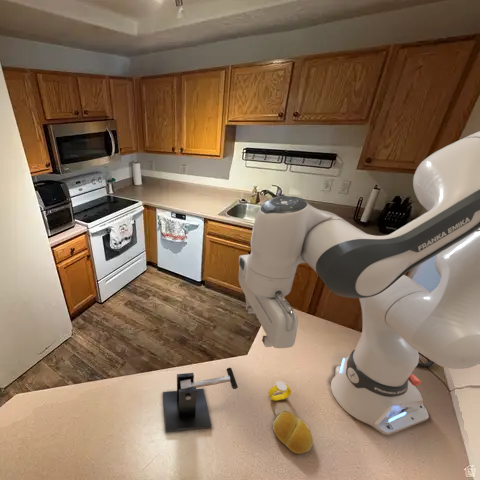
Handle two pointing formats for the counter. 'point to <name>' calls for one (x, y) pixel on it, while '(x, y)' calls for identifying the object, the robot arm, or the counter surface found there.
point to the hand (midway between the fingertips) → (258, 326)
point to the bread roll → (292, 432)
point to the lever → (211, 381)
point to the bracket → (185, 407)
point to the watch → (282, 388)
